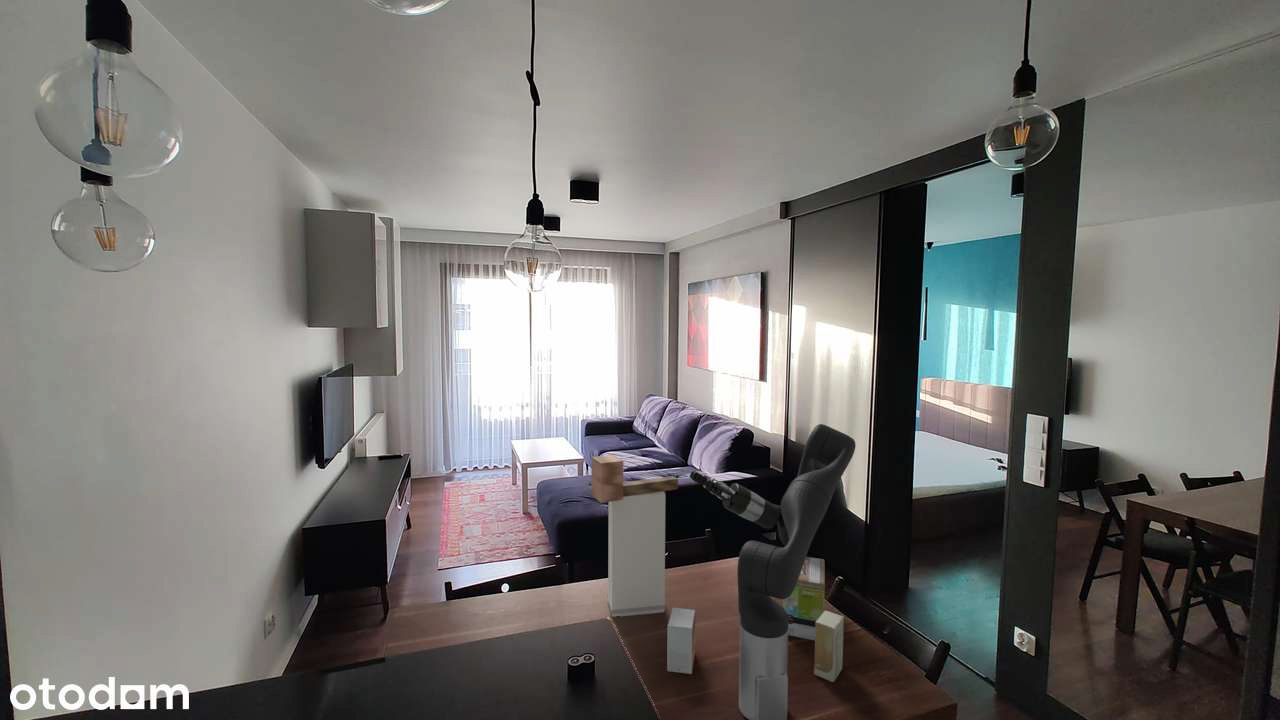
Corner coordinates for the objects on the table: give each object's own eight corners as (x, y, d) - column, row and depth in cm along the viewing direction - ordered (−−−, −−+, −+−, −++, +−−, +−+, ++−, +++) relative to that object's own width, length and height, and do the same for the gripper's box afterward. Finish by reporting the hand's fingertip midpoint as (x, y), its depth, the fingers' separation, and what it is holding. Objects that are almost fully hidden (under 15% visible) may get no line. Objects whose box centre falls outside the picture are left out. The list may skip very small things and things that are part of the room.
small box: (691, 675, 115) (692, 628, 114) (666, 671, 116) (666, 625, 115) (695, 653, 122) (696, 609, 122) (671, 650, 124) (672, 606, 123)
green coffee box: (823, 643, 127) (825, 583, 126) (780, 635, 130) (782, 576, 129) (823, 611, 141) (824, 557, 140) (784, 604, 144) (785, 552, 143)
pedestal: (658, 596, 148) (659, 484, 146) (665, 612, 140) (666, 494, 138) (607, 601, 145) (607, 487, 143) (611, 617, 137) (611, 497, 135)
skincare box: (823, 660, 120) (825, 608, 119) (843, 668, 117) (844, 615, 116) (812, 675, 115) (814, 621, 114) (832, 683, 112) (834, 628, 111)
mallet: (669, 484, 147) (669, 448, 146) (681, 491, 140) (682, 454, 140) (591, 494, 137) (591, 456, 136) (601, 502, 131) (601, 463, 130)
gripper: (741, 483, 153) (691, 456, 150) (760, 498, 140) (706, 469, 137) (728, 506, 153) (678, 479, 150) (746, 523, 140) (692, 494, 136)
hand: (692, 474), depth 143 cm, fingers closed
